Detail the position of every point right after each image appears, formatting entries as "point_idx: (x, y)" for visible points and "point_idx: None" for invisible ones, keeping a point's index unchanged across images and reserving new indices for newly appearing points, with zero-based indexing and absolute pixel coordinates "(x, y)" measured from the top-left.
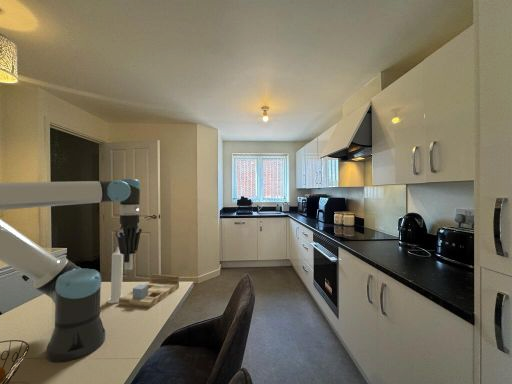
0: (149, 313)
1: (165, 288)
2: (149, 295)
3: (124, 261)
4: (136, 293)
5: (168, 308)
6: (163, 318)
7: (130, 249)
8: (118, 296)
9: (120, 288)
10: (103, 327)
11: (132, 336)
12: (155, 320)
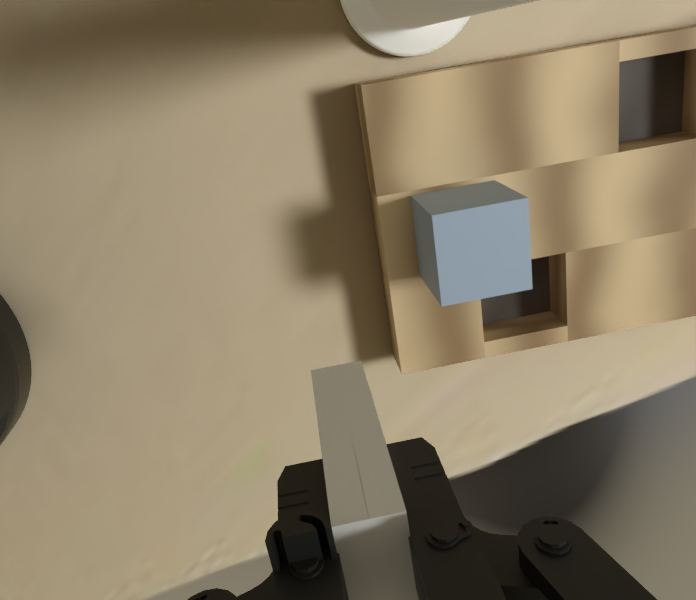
0: None
1: (656, 284)
2: None
3: (281, 480)
4: (425, 243)
5: None
6: None
7: (482, 588)
8: (402, 25)
9: (438, 22)
10: (9, 410)
11: (111, 516)
12: None
